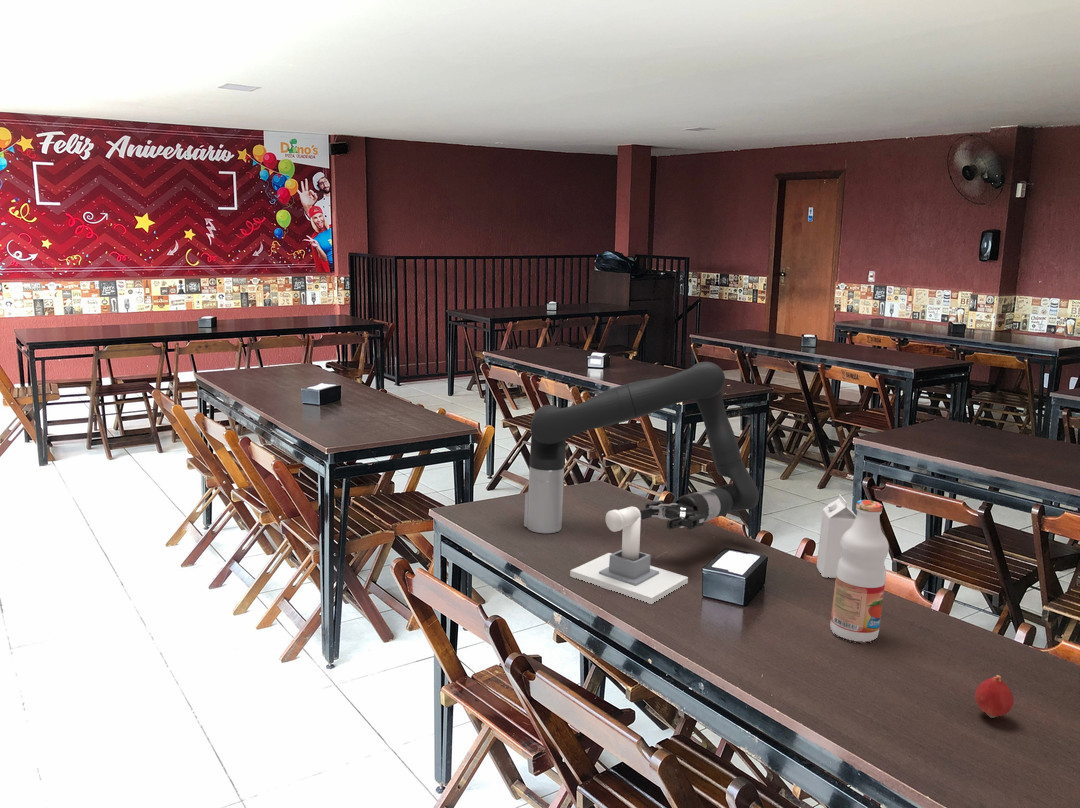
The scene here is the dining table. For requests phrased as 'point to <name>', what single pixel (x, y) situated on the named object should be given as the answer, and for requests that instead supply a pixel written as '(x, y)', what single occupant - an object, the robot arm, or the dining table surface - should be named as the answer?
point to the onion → (994, 697)
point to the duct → (630, 576)
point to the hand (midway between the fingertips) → (654, 520)
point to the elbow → (626, 530)
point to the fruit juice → (860, 576)
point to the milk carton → (833, 535)
